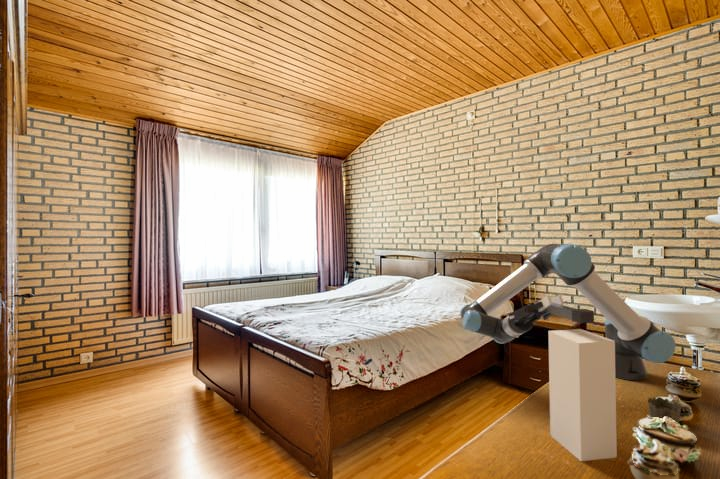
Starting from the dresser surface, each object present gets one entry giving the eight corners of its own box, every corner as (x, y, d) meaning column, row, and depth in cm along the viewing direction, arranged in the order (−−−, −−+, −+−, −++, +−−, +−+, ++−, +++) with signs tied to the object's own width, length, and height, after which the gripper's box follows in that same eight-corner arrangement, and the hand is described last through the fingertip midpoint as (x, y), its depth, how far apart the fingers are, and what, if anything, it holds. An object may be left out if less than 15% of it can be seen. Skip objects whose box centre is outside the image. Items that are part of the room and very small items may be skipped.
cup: (642, 426, 106) (641, 399, 106) (657, 421, 109) (656, 394, 109) (672, 439, 100) (671, 410, 100) (687, 433, 103) (686, 405, 102)
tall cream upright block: (582, 432, 104) (580, 328, 104) (616, 457, 92) (614, 340, 92) (550, 435, 103) (548, 330, 103) (581, 461, 91) (578, 343, 91)
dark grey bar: (545, 307, 115) (545, 298, 115) (594, 322, 95) (593, 311, 95) (533, 308, 114) (533, 299, 114) (580, 323, 94) (579, 311, 94)
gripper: (542, 332, 126) (585, 310, 106) (499, 335, 124) (534, 313, 104) (535, 311, 130) (575, 286, 110) (493, 314, 128) (526, 289, 108)
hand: (555, 299), depth 107 cm, fingers closed on dark grey bar, 3 cm apart
